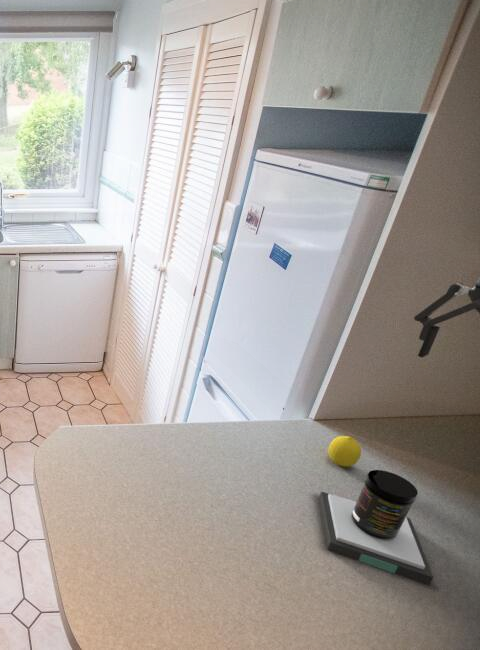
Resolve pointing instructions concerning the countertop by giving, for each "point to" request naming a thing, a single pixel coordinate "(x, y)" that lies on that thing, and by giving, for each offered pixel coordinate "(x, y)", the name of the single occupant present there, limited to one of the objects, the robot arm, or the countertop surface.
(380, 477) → the supplement container
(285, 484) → the countertop surface
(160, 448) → the countertop surface
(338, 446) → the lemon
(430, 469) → the countertop surface
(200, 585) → the countertop surface
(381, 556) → the kitchen scale
